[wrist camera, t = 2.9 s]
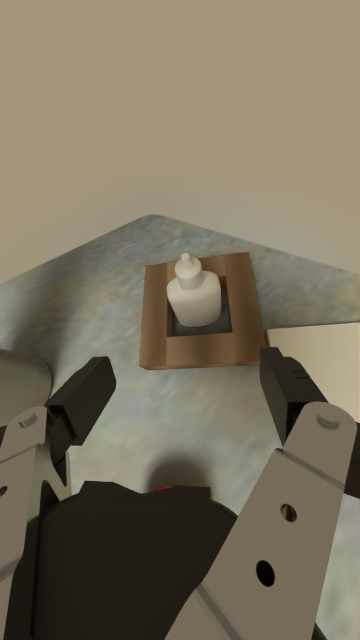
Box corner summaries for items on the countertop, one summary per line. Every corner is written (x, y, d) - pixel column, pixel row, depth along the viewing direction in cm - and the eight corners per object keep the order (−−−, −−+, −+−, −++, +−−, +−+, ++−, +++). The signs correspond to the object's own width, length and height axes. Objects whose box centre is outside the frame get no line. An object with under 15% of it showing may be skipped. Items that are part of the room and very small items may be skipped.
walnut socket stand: (147, 370, 26) (139, 366, 23) (152, 278, 32) (145, 265, 29) (263, 364, 24) (268, 359, 21) (246, 266, 29) (248, 251, 27)
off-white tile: (287, 444, 20) (289, 446, 20) (265, 331, 25) (267, 329, 24) (456, 447, 18) (466, 448, 17) (398, 321, 23) (403, 319, 22)
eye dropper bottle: (186, 296, 29) (164, 232, 18) (224, 306, 28) (226, 241, 17) (175, 324, 28) (144, 271, 17) (214, 335, 26) (209, 286, 15)
